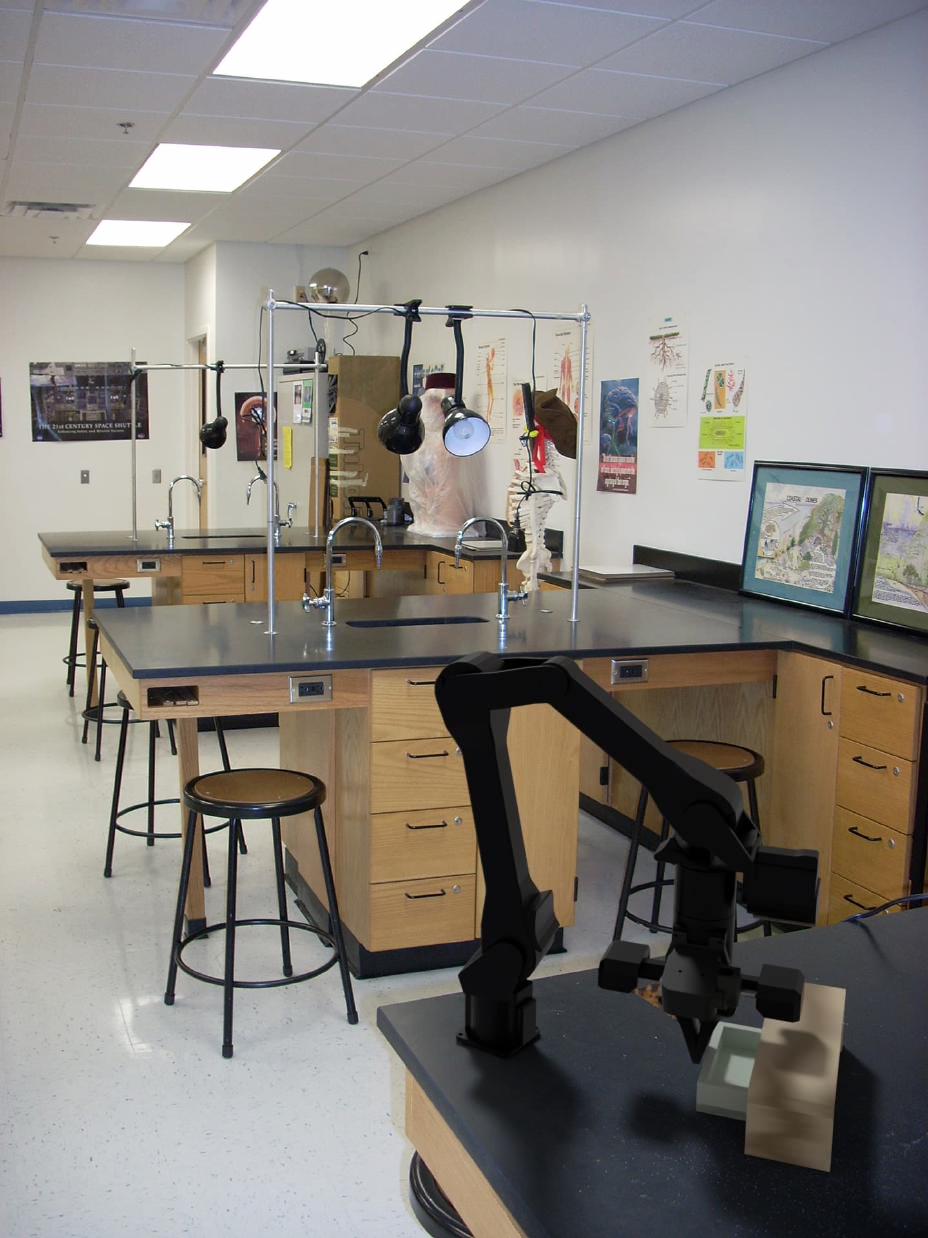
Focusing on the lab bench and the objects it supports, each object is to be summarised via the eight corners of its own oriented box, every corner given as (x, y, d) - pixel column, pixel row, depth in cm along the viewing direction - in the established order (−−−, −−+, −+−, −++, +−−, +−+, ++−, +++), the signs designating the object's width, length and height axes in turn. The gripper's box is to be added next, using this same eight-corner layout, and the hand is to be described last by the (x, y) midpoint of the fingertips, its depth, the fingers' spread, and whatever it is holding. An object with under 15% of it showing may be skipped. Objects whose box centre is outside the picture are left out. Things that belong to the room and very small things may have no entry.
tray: (695, 1111, 108) (697, 1082, 107) (715, 1047, 119) (716, 1021, 118) (763, 1124, 106) (764, 1096, 105) (776, 1058, 117) (778, 1032, 116)
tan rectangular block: (744, 1154, 101) (747, 1089, 100) (771, 1032, 122) (774, 977, 121) (829, 1172, 99) (833, 1106, 98) (842, 1044, 119) (845, 989, 118)
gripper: (585, 926, 106) (580, 1086, 109) (800, 961, 100) (789, 1129, 103) (613, 882, 117) (608, 1029, 119) (809, 911, 110) (799, 1065, 113)
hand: (696, 1062), depth 113 cm, fingers closed
